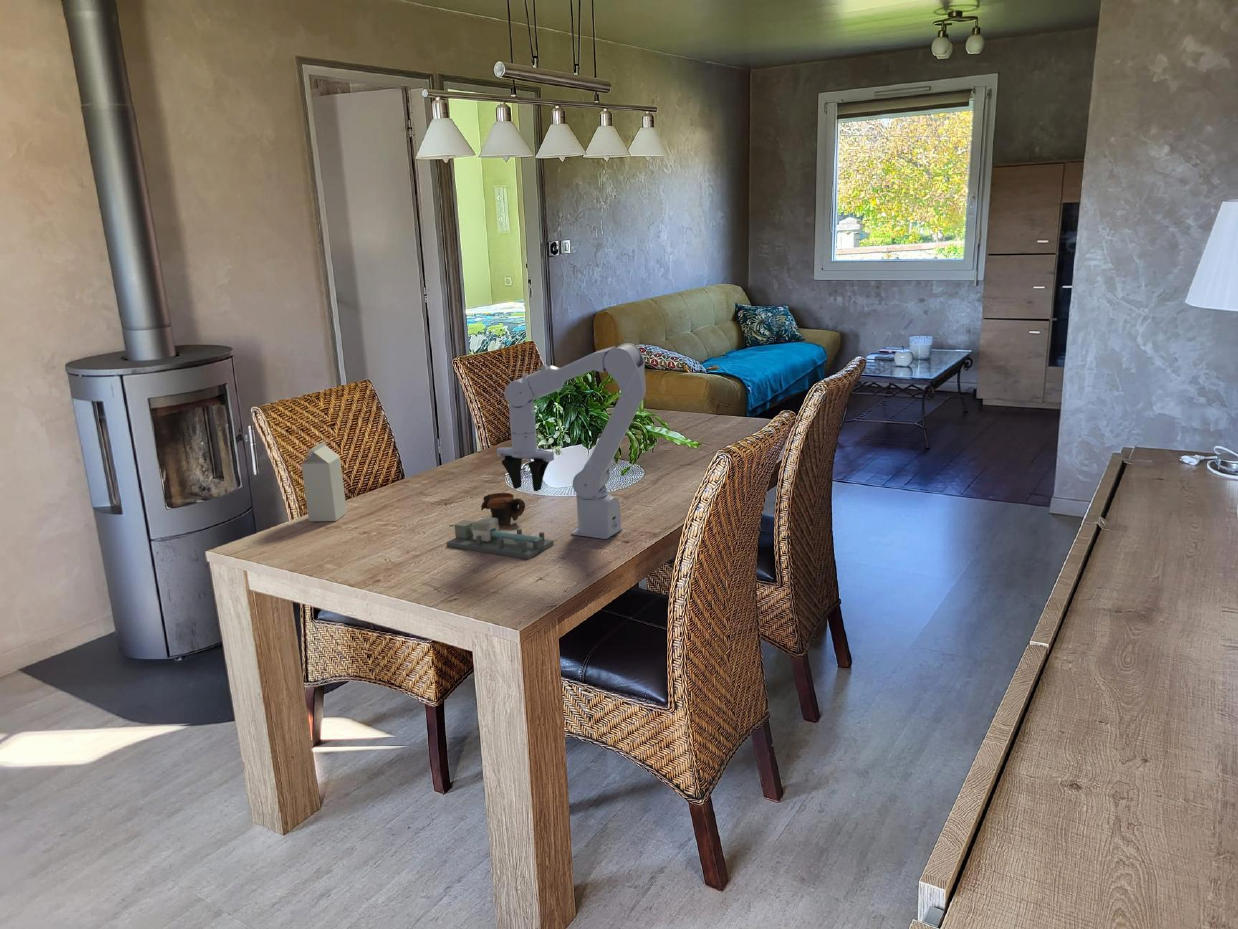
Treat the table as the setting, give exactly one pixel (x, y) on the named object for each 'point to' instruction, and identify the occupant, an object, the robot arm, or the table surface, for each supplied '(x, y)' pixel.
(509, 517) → the pottery mug
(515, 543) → the miniature lathe model
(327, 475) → the milk carton
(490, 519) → the sleeve
